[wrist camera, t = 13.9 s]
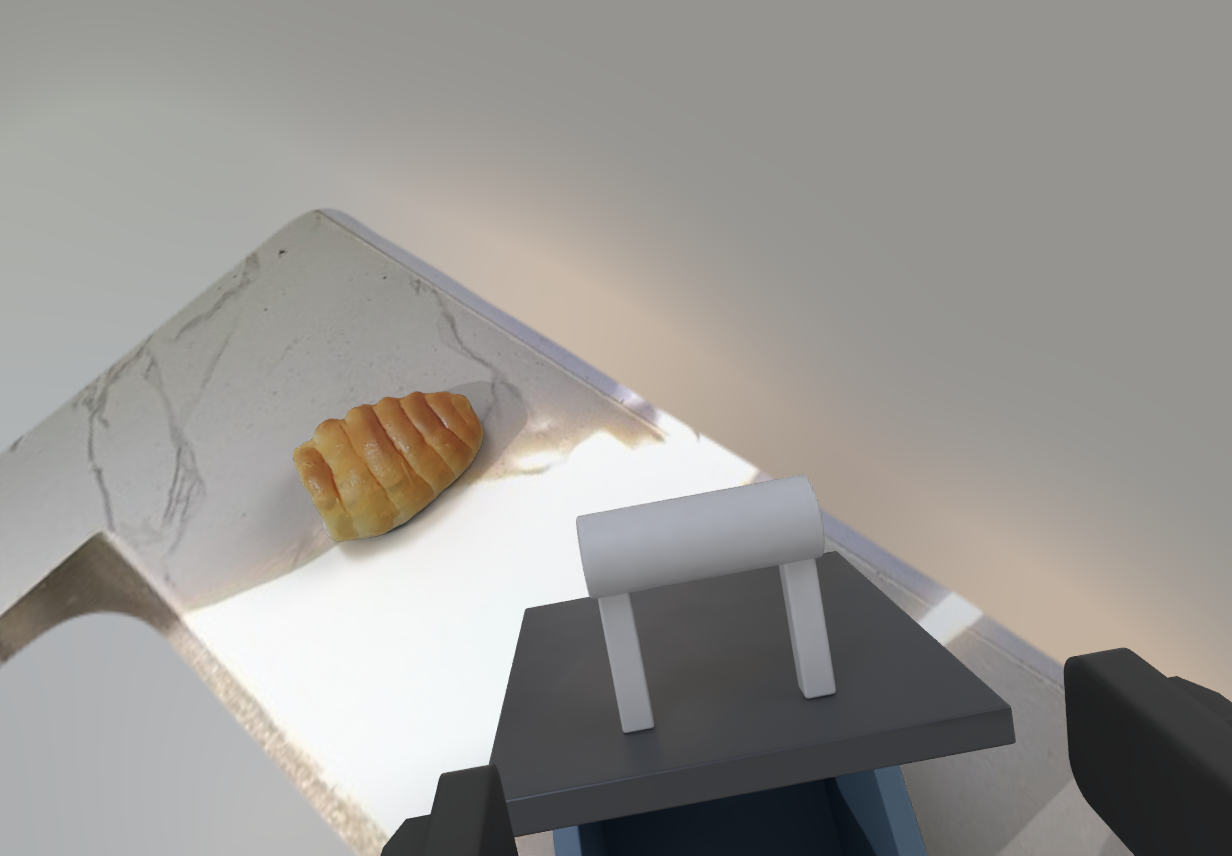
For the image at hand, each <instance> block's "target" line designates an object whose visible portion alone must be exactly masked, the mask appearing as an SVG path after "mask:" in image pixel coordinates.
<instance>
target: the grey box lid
mask: <svg viewBox="0 0 1232 856" xmlns="http://www.w3.org/2000/svg"><path fill="white" fill-rule="evenodd" d="M576 525H577V534H578V541H579V547H580V553H581V559H582V565H583V570H584V575H585V580H586V585H587V589H588V593H589V596H590V597H586V598H581V599H575V600H570V601H565V602H559V603H554V604H548V605H543V606H538V607H532V608H527V609H525V612H524V617H523V621H522V625H521V629H520V634H519V638H518V642H517V646H516V651H515V655H514V659H513V663H512V668H511V672H510V676H509V680H508V685H507V689H506V693H505V697H504V702H503V706H502V710H501V714H500V719H499V723H498V727H497V731H496V736H495V740H494V744H493V748H492V753H491V757H490V761H489V765H491V764H495V765H496V767H497V769H498V771H499V775H500V778H501V782H502V787H503V791H504V795H505V800H506V804H507V808H508V813H509V817H510V822H511V826H512V830H513V835H514V837H518V836H524V835H529V834H534V833H540V832H545V831H550V830H556V829H561V828H566V827H572V826H577V825H582V824H588V823H593V822H598V821H604V820H609V819H614V818H620V817H625V816H630V815H636V814H641V813H646V812H651V811H657V810H662V809H667V808H673V807H678V806H683V805H689V804H694V803H699V802H705V801H710V800H715V799H721V798H726V797H731V796H737V795H742V794H747V793H753V792H758V791H763V790H769V789H774V788H779V787H785V786H790V785H795V784H801V783H806V782H811V781H817V780H822V779H827V778H832V777H838V776H843V775H848V774H854V773H859V772H864V771H870V770H875V769H880V768H886V767H891V766H896V765H902V764H907V763H912V762H918V761H923V760H928V759H934V758H939V757H944V756H950V755H955V754H960V753H966V752H971V751H976V750H982V749H987V748H992V747H998V746H1003V745H1008V744H1013V743H1015V741H1016V740H1015V733H1014V725H1013V718H1012V711H1011V707H1010V705H1009V704H1007V703H1006V702H1005V701H1004V700H1003V699H1002V698H1001V697H1000V696H998V695H997V694H996V693H995V692H994V691H993V690H992V689H991V688H989V687H988V686H987V685H986V684H985V683H984V682H983V681H982V680H980V679H979V678H978V677H977V676H976V675H975V674H974V673H973V672H971V671H970V670H969V669H968V668H967V667H966V666H965V665H964V664H963V663H961V662H960V661H959V660H958V659H957V658H956V657H955V656H954V655H952V654H951V653H950V652H949V651H948V650H947V649H946V648H945V647H943V646H942V645H941V644H940V643H939V642H938V641H937V640H936V639H934V638H933V637H932V636H931V635H930V634H929V633H928V632H927V631H925V630H924V629H923V628H922V627H921V626H920V625H919V624H918V623H917V622H915V621H914V620H913V619H912V618H911V617H910V616H909V615H908V614H906V613H905V612H904V611H903V610H902V609H901V608H900V607H899V606H897V605H896V604H895V603H894V602H893V601H892V600H891V599H890V598H888V597H887V596H886V595H885V594H884V593H883V592H882V591H881V590H879V589H878V588H877V587H876V586H875V585H874V584H873V583H872V582H871V581H869V580H868V579H867V578H866V577H865V576H864V575H863V574H862V573H860V572H859V571H858V570H857V569H856V568H855V567H854V566H853V565H851V564H850V563H849V562H848V561H847V560H846V559H845V558H844V557H842V556H841V555H840V554H839V553H838V552H836V551H834V552H829V553H824V543H825V542H824V529H823V522H822V517H821V512H820V508H819V504H818V500H817V498H816V494H815V492H814V489H813V487H812V485H811V483H810V481H809V479H808V478H807V477H806V476H805V475H798V476H793V477H788V478H782V479H777V480H771V481H766V482H761V483H755V484H750V485H744V486H739V487H733V488H728V489H723V490H717V491H712V492H706V493H701V494H696V495H690V496H685V497H679V498H674V499H668V500H663V501H658V502H652V503H647V504H641V505H636V506H631V507H625V508H620V509H614V510H609V511H604V512H598V513H593V514H587V515H582V516H578V517H577V519H576Z"/></svg>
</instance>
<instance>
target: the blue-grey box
mask: <svg viewBox="0 0 1232 856" xmlns="http://www.w3.org/2000/svg"><path fill="white" fill-rule="evenodd" d="M553 839H554V848H555V856H928V855H927V852H926V849H925V846H924V842H923V839H922V836H921V833H920V830H919V827H918V823H917V820H916V817H915V814H914V811H913V808H912V804H911V801H910V798H909V795H908V792H907V789H906V785H905V782H904V779H903V776H902V773H901V770H900V766H899V765H896V766H891V767H886V768H880V769H875V770H870V771H864V772H859V773H854V774H848V775H843V776H838V777H832V778H827V779H822V780H817V781H811V782H806V783H801V784H795V785H790V786H785V787H779V788H774V789H769V790H763V791H758V792H753V793H747V794H742V795H737V796H731V797H726V798H721V799H715V800H710V801H705V802H699V803H694V804H689V805H683V806H678V807H673V808H667V809H662V810H657V811H651V812H646V813H641V814H636V815H630V816H625V817H620V818H614V819H609V820H604V821H598V822H593V823H588V824H582V825H577V826H572V827H566V828H561V829H556V830H553Z"/></svg>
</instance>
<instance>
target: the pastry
mask: <svg viewBox="0 0 1232 856" xmlns="http://www.w3.org/2000/svg"><path fill="white" fill-rule="evenodd" d="M483 434H484V430H483V427H482V425H481V423H480V420H479V418H478V416H477V415H476V413H475V412H474V410H473V408H472V406H471V404H470V402H469V400H468V399H467V398H466V397H465V396H464V395H459V394H456V395H455V394H451V393H449V392H437V393H421V392H413V393H411V394H409V395H407V396H406V397H403V398H392V397H385V398H383V399H382V400H380V401H379V402H378V403H377V404H375V405H367V404H365V405H362V406H359V407H354V408H352V409H351V410H350V411H348V413H347V415H346V417H345V418H344V419H342V420H338V419H328V420H325V421H324V422H322V423H321V424H320V425H319V426H318V427H317V428H316V430H315V433H314V436H313V438H312V439H311V440H310V441H307V442H305V443H303V444H302V445H301V446H300V447H298V448H296V449H295V450H294V451H293V460H294V462H295V465H296V469H297V471H298V474H299V476H300V479H301V482H302V484H303V486H304V488H305V489H306V490H307V492H308V493H309V494H310V495H311V496H312V500H313V503H314V505H315V506H316V508H317V509H318V511H319V513H320V515H321V517H322V519H323V522H322V524H323V526H324V528H325V529H326V532H327V535H328V536H329V537H331V538H332V539H334V540H336V541H349V540H356V539H362V538H367V537H375V536H379V535H383V534H385V533H386V532H388V531H390V530H391V529H393V528H395V527H397V526H399V525H401V524H405V523H406V522H407V521H408V520H410V519H411V518H412V517H413V516H414V515H415V514H417V513H419V512H420V511H421V510H423V508H424V507H425V506H426V505H428V504H429V503H431V502H432V501H433V500H435V499H436V498H437V497H438V496H439V494H440V493H441V492H443V491H444V490H445V489H446V488H449V486H450V485H451V484H452V483H453V482H454V481H455V480H456V479H457V478H458V477H459V476H460V475H461V474H462V473H463V472H464V471H465V470H466V469H467V468H468V467H469V466H470V465H471V463H472V461H473V460H474V458H475V456H476V454H477V452H478V451H479V449H480V448H481V445H482V441H483Z"/></svg>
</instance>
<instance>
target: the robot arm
mask: <svg viewBox="0 0 1232 856" xmlns="http://www.w3.org/2000/svg"><path fill="white" fill-rule="evenodd" d="M1064 686H1065V702H1066V718H1067V734H1068V750H1069V760H1070V765H1071V769H1072V772H1073V775H1074V778H1075V780H1076V783H1077V785H1078V787H1079V789H1080V791H1081V793H1082V795H1083V797H1084V798H1085V800H1086V801H1087V802H1088V804H1089V805H1090V806H1091V807H1092V808H1093V810H1094V811H1095V812H1096V813H1097V814H1098V815H1099V816H1100V817H1101V818H1102V820H1103V821H1104V822H1105V823H1106V824H1107V825H1108V826H1109V827H1110V829H1111V830H1112V831H1113V832H1114V833H1115V834H1116V835H1117V836H1118V837H1119V839H1120V840H1121V841H1122V842H1123V843H1124V844H1125V845H1126V846H1127V847H1128V849H1129V850H1130V851H1131V852H1132V853H1133V854H1134V855H1135V856H1232V702H1231V701H1229V700H1228V699H1226V698H1225V697H1224V696H1222V695H1221V694H1219V693H1217V692H1215V691H1212V690H1210V689H1207V688H1205V687H1202V686H1200V685H1197V684H1195V683H1192V682H1190V681H1187V680H1185V679H1182V678H1180V677H1177V676H1175V677H1170V678H1167V677H1166V676H1165V675H1163V674H1162V673H1160V672H1159V671H1158V670H1156V669H1155V668H1154V667H1153V666H1151V665H1150V664H1149V663H1147V662H1146V661H1145V660H1143V659H1142V658H1141V657H1139V656H1138V655H1137V654H1135V653H1134V652H1133V651H1131V650H1129V649H1127V648H1118V649H1112V650H1106V651H1101V652H1096V653H1091V654H1085V655H1079V656H1074V657H1070V658H1069V659H1067V661H1066V663H1065V666H1064ZM381 856H518V852H517V848H516V843H515V839H514V835H513V830H512V826H511V822H510V817H509V813H508V808H507V804H506V800H505V795H504V791H503V787H502V782H501V778H500V775H499V771H498V769H497V767H496V765H495V764H491V765H485V766H480V767H474V768H469V769H464V770H458V771H453V772H447V773H442V774H441V776H440V778H439V781H438V786H437V790H436V794H435V798H434V802H433V806H432V810H431V814H430V815H425V816H420V817H414V818H409V819H406V820H405V821H404V822H403V824H402V825H401V826H400V827H399V829H398V830H397V831H396V832H395V834H394V835H393V836H392V837H391V839H390V840H389V841H388V842H387V844H386V845H385V846H384V847H383V849H382V853H381Z"/></svg>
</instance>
